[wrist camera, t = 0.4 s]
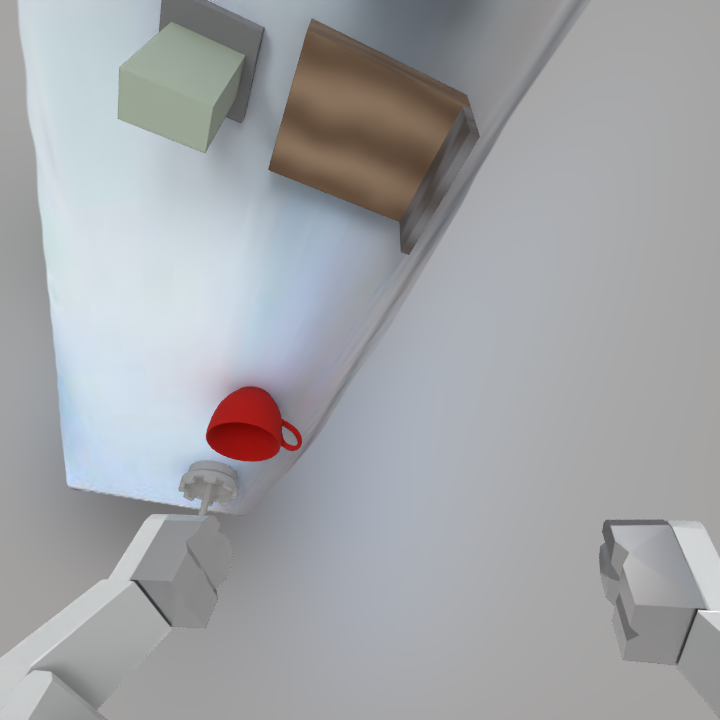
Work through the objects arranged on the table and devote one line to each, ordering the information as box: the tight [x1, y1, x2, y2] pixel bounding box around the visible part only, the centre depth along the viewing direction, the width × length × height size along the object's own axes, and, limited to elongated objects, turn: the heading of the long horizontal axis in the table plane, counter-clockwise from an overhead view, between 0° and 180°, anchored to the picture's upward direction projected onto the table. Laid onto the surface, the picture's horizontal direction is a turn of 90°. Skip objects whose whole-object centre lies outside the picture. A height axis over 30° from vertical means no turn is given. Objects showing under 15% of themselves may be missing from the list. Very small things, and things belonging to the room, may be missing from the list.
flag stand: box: [179, 461, 239, 516], centre depth 102 cm, size 13×13×30 cm
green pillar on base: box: [118, 0, 264, 153], centre depth 43 cm, size 9×9×14 cm
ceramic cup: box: [206, 387, 302, 461], centre depth 87 cm, size 13×17×10 cm
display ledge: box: [268, 19, 480, 255], centre depth 49 cm, size 14×17×10 cm
